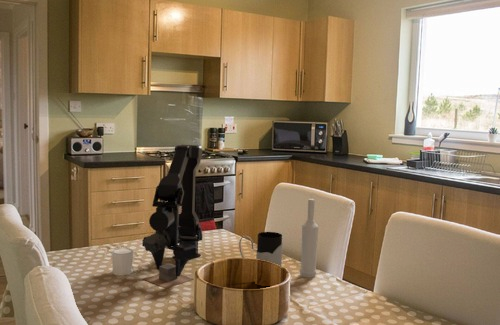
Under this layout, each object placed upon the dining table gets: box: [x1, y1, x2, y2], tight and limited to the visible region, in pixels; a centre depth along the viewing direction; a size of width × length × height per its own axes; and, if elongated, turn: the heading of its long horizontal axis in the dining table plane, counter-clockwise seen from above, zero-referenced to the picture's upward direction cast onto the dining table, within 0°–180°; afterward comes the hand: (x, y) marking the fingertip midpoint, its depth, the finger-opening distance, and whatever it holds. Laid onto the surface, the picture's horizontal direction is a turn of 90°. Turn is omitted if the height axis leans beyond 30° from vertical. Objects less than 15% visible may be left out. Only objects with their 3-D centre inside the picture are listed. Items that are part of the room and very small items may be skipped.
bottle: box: [299, 198, 319, 279], centre depth 166 cm, size 5×5×25 cm
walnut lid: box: [142, 263, 194, 289], centre depth 160 cm, size 11×11×5 cm
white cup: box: [110, 248, 134, 277], centre depth 164 cm, size 7×7×7 cm
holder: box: [238, 231, 283, 267], centre depth 160 cm, size 9×14×15 cm, turn 72°
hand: (168, 273), depth 160 cm, fingers open, 8 cm apart
